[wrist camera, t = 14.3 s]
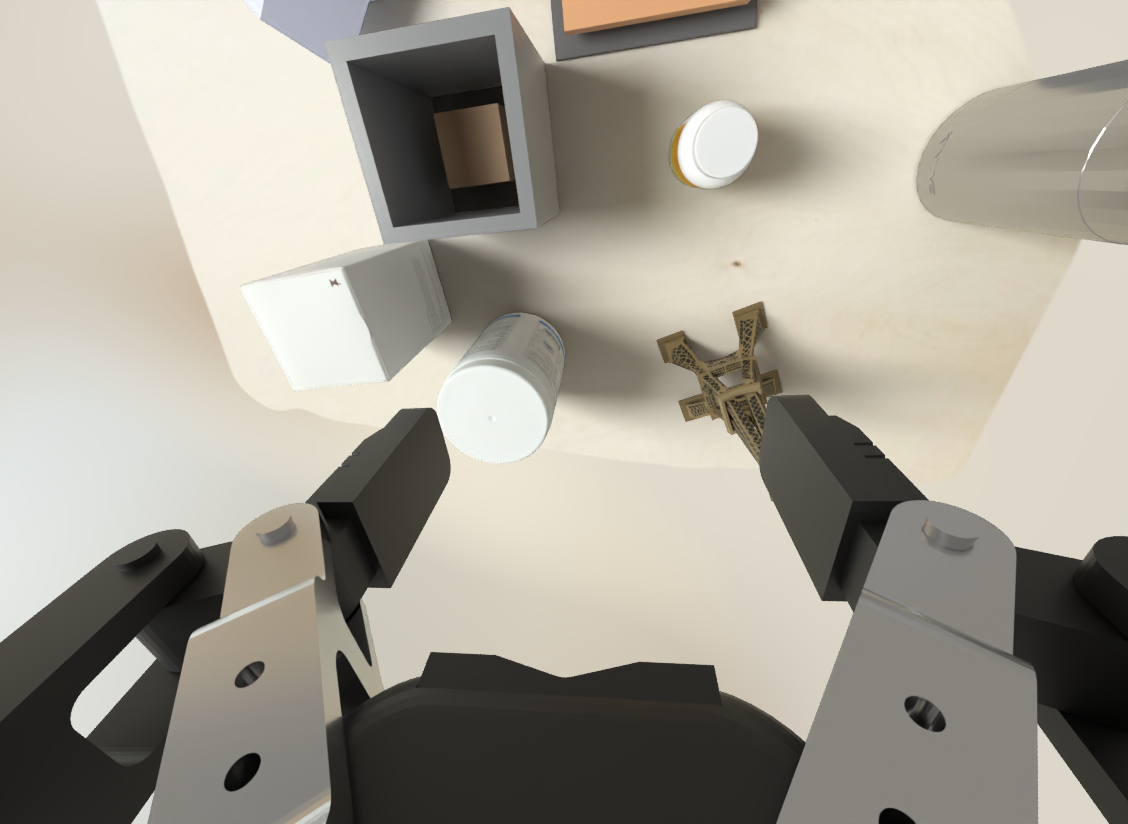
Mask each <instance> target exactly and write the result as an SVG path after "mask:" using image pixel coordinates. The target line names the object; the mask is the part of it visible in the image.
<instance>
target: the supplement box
mask: <svg viewBox="0 0 1128 824" xmlns="http://www.w3.org/2000/svg"><path fill="white" fill-rule="evenodd" d="M239 288H240V289H241V291H242V293H243V295H244V297H245V298H246V300H247V302H248V304H249V306H250V308H251V310H252V312H253V313H254V315H255V317H256V319H257V321H258V323H259V325H260V327H261V328H262V330H263V332H264V334H265V336H266V338H267V340H268V341H269V343H270V345H271V347H272V349H273V351H274V353H275V355H276V357H277V359H278V360H279V362H280V364H281V366H282V368H283V370H284V372H285V374H286V376H287V378H288V379H289V381H290V383H291V385H292V387H293V389H294V391H301V390H311V389H318V388H327V387H336V386H345V385H355V384H366V383H377V382H388V381H390V380H391V379H392V378H393V377H394V376H395V375H396V374H397V373H398V372H399V371H400V370H401V369H402V368H403V367H404V366H405V365H406V364H408V363H409V362H410V361H411V360H412V359H413V358H414V357H415V356H416V355H417V354H418V353H419V352H420V351H421V350H422V349H423V348H425V347H426V346H427V345H428V344H429V343H430V342H431V341H432V340H433V339H434V338H435V337H436V336H437V335H439V334H440V333H441V332H442V331H443V330H444V329H445V328H446V327H447V326H448V325H449V324H451V323H452V319H451V316H450V312H449V309H448V306H447V302H446V299H445V296H444V292H443V289H442V286H441V282H440V279H439V276H438V272H437V269H436V266H435V262H434V259H433V256H432V252H431V249H430V246H429V243H428V240H422V241H413V242H403V243H394V244H385V245H378V246H372V247H367V248H362V249H358V250H354V251H350V252H347V253H344V254H340V255H337V256H334V257H331V258H327V259H324V260H321V261H317V262H314V263H311V264H308V265H305V266H301V267H298V268H295V269H292V270H288V271H285V272H282V273H279V274H276V275H272V276H269V277H266V278H263V279H259V280H256V281H253V282H250V283H246V284H243V285H240V286H239Z"/></svg>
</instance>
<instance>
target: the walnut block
mask: <svg viewBox="0 0 1128 824" xmlns="http://www.w3.org/2000/svg"><path fill="white" fill-rule="evenodd" d="M433 116H434V120H435V125H436V129H437V134H438V138H439V143H440V147H441V152H442V157H443V161H444V166H445V170H446V175H447V179H448V184H449V189H455V188H466V187H475V186H483V185H490V184H498V183H505V182H513V181H516V180H515V173H514V166H513V159H512V152H511V145H510V138H509V131H508V124H507V117H506V110H505V107H503V106H502V105H500V104H498V103H495V104H489V105H483V106H477V107H471V108H465V109H458V110H452V111H446V112H440V113H434V114H433Z"/></svg>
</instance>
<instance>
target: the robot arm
mask: <svg viewBox="0 0 1128 824" xmlns="http://www.w3.org/2000/svg"><path fill="white" fill-rule="evenodd" d="M917 192H918V195H919V198H920V201H921V202H922V204H923V205H924V207H925V208H926V210H928V211H929V212H930V213H932V214H933V215H934V216H936V217H939V218H941V219H944V220H950V221H957V222H964V223H971V224H978V225H984V226H991V227H998V228H1006V229H1013V230H1020V231H1028V232H1035V233H1042V234H1050V235H1057V236H1064V237H1072V238H1079V239H1086V240H1094V241H1101V242H1108V243H1116V244H1125V245H1128V60H1124V61H1120V62H1115V63H1111V64H1106V65H1102V66H1097V67H1093V68H1088V69H1085V70H1079V71H1075V72H1071V73H1066V74H1062V75H1057V76H1053V77H1048V78H1043V79H1038V80H1034V81H1029V82H1025V83H1020V84H1016V85H1012V86H1007V87H1003V88H998V89H995V90H992V91H989V92H986V93H983V94H981V95H980V96H978V97H976V98H974V99H972V100H970V101H968V102H967V103H966V104H964V105H963V106H962V107H960V108H959V109H958V110H956V111H955V112H954V113H953V114H952V115H951V116H950V117H949V118H948V119H947V120H946V121H945V122H944V123H942V125H941V126H940V127H939V128H938V130H937V131H936V132H935V134H934V135H933V136H932V138H931V139H930V141H929V143H928V145H927V147H926V148H925V150H924V152H923V155H922V158H921V161H920V163H919V167H918V173H917ZM759 466H760V473H761V476H762V479H763V481H764V483H765V486H766V488H767V490H768V492H769V494H770V496H771V498H772V500H773V502H774V504H775V506H776V508H777V510H778V512H779V514H780V516H781V518H782V520H783V522H784V524H785V526H786V528H787V530H788V533H789V535H790V536H791V539H792V541H793V543H794V545H795V547H796V549H797V551H798V553H799V555H800V557H801V559H802V561H803V563H804V565H805V567H806V569H807V571H808V573H809V575H810V577H811V579H812V581H813V583H814V586H815V588H816V590H817V592H818V594H819V596H820V598H821V600H822V601H848V603H849V605H850V607H851V609H852V610H853V612H854V613H853V616H852V619H851V621H850V624H849V627H848V629H847V632H846V635H845V638H844V640H843V643H842V646H841V648H840V651H839V654H838V656H837V659H836V662H835V664H834V667H833V670H832V673H831V675H830V678H829V681H828V684H827V686H826V689H825V692H824V694H823V697H822V700H821V703H820V705H819V708H818V711H817V713H816V716H815V719H814V721H813V724H812V727H811V729H810V732H809V735H808V737H807V740H806V742H804V741H803V740H802V739H801V738H800V737H799V736H797V735H796V734H795V733H794V732H793V731H792V730H790V729H789V728H788V727H786V726H785V725H783V724H782V723H781V722H779V721H778V720H776V719H775V718H774V717H772V716H771V715H769V714H767V713H766V712H764V711H762V710H761V709H759V708H757V707H755V706H753V705H752V704H750V703H748V702H746V701H743V700H741V699H739V698H737V697H735V696H732V695H730V694H727V693H724V692H721V691H719V688H718V683H717V678H716V673H715V668H714V665H695V664H674V663H652V662H637V663H632V664H628V665H623V666H619V667H614V668H610V669H605V670H601V671H596V672H592V673H587V674H583V675H578V676H574V677H567V678H563V677H558V676H554V675H552V674H548V673H546V672H543V671H540V670H537V669H534V668H531V667H528V666H525V665H523V664H520V663H517V662H514V661H511V660H508V659H505V658H502V657H499V656H496V655H482V654H461V653H460V654H459V653H438V652H431V653H430V655H429V658H428V660H427V663H426V666H425V668H424V671H423V673H422V676H421V677H416V678H413V679H410V680H408V681H405V682H402V683H399V684H397V685H395V686H393V687H391V688H388V689H387V690H384V687H383V684H382V681H381V677H380V672H379V667H378V663H377V658H376V653H375V648H374V644H373V639H372V634H371V629H370V624H369V620H368V615H367V610H366V606H365V604H364V602H363V600H362V596H363V595H364V593H365V591H366V590H367V588H368V587H369V588H370V587H371V588H391V587H392V585H393V583H394V581H395V579H396V577H397V576H398V574H399V572H400V570H401V568H402V566H403V564H404V563H405V561H406V559H407V557H408V555H409V553H410V551H411V550H412V548H413V546H414V544H415V542H416V540H417V539H418V537H419V535H420V533H421V531H422V529H423V527H424V526H425V524H426V522H427V520H428V518H429V516H430V514H431V513H432V511H433V509H434V507H435V505H436V503H437V501H438V500H439V498H440V496H441V494H442V492H443V490H444V488H445V487H446V485H447V483H448V480H449V476H450V459H449V454H448V451H447V447H446V444H445V440H444V437H443V433H442V429H441V426H440V422H439V419H438V416H437V413H436V412H435V410H434V409H432V408H414V409H401V410H400V411H399V412H398V413H397V414H396V415H395V416H394V417H393V418H392V419H391V421H390V422H389V423H388V424H387V425H386V426H385V427H384V428H383V429H381V430H379V431H378V432H376V433H374V434H373V435H371V436H370V437H368V438H367V439H365V440H364V441H363V442H362V443H361V444H360V445H359V446H358V447H357V448H356V449H355V451H354V452H352V456H349V457H348V458H347V459H346V460H345V461H344V462H343V463H342V467H338V468H337V469H336V470H335V471H334V473H333V474H332V475H331V476H330V477H329V478H328V479H327V480H326V481H325V482H324V483H323V484H322V485H321V486H320V487H319V488H318V489H317V491H316V492H315V493H314V494H313V495H312V496H311V497H310V498H309V499H308V500H307V501H306V502H305V503H295V504H289V505H285V506H282V507H279V508H276V509H273V510H271V511H269V512H267V513H265V514H263V515H261V516H259V517H258V518H256V519H255V520H253V521H252V522H250V523H249V524H248V525H246V526H245V527H244V528H243V529H242V530H241V531H240V532H239V533H238V534H237V536H236V537H235V539H234V540H233V541H232V542H227V543H223V544H219V545H215V546H210V547H206V548H201V549H199V548H198V546H197V545H196V543H195V542H194V541H193V539H192V538H191V536H190V535H189V534H188V533H187V532H186V531H184V530H179V529H173V530H166V531H161V532H158V533H154V534H152V535H149V536H146V537H144V538H141V539H139V540H136V541H134V542H132V543H130V544H128V545H127V546H125V547H123V548H121V549H120V550H118V551H117V552H115V553H113V554H112V555H110V556H109V557H108V558H106V559H105V560H104V561H103V562H101V563H100V564H99V565H97V566H96V567H95V568H94V569H92V570H91V571H90V572H89V573H87V574H86V575H85V576H84V577H82V578H81V579H80V580H79V581H77V582H76V583H75V584H73V585H72V586H71V587H70V588H68V589H67V590H66V591H65V592H63V593H62V594H61V595H60V596H58V597H57V598H56V599H55V600H53V601H52V602H51V603H50V604H48V605H47V606H46V607H45V608H43V609H42V610H41V611H40V612H38V613H37V614H36V615H34V616H33V617H32V618H31V619H29V620H28V621H27V622H26V623H24V624H23V625H22V626H21V627H19V628H18V629H17V630H16V631H14V632H13V633H12V634H11V635H9V636H8V637H7V638H6V639H4V640H3V641H2V642H1V643H0V824H131V823H132V822H133V820H134V819H135V817H136V816H137V815H138V813H139V812H140V810H141V809H142V807H143V806H144V805H145V803H146V802H147V800H148V799H149V798H150V796H151V794H152V793H153V792H154V790H155V792H154V797H153V801H152V806H151V810H150V815H149V819H148V824H1038V764H1037V763H1038V760H1037V759H1038V756H1037V723H1038V725H1039V726H1040V728H1041V729H1042V730H1043V732H1044V733H1045V734H1046V736H1047V737H1048V739H1049V740H1050V742H1051V743H1052V744H1053V746H1054V747H1055V749H1056V750H1057V751H1058V753H1059V754H1060V756H1061V757H1062V758H1063V760H1064V761H1065V762H1066V764H1067V765H1068V767H1069V768H1070V770H1071V771H1072V772H1073V774H1074V775H1075V777H1076V778H1077V779H1078V781H1079V782H1080V784H1081V785H1082V786H1083V788H1084V789H1085V790H1086V792H1087V793H1088V795H1089V796H1090V797H1091V799H1092V800H1093V802H1094V803H1095V804H1096V806H1097V807H1098V809H1099V810H1100V811H1101V813H1102V814H1103V816H1104V817H1105V818H1106V819H1107V821H1108V823H1109V824H1128V537H1126V536H1113V537H1106V538H1103V539H1100V540H1099V541H1097V542H1096V543H1095V544H1094V546H1093V547H1092V548H1091V550H1090V551H1089V553H1088V554H1087V556H1086V557H1085V558H1084V559H1083V560H1078V559H1074V558H1069V557H1063V556H1059V555H1054V554H1049V553H1043V552H1039V551H1034V550H1029V549H1023V548H1019V547H1014V545H1013V543H1012V542H1011V541H1010V539H1009V538H1008V537H1007V536H1006V535H1005V534H1004V533H1003V532H1002V531H1001V530H1000V529H998V528H997V527H996V526H995V525H993V524H992V523H990V522H988V521H987V520H985V519H983V518H981V517H980V516H978V515H976V514H974V513H971V512H969V511H967V510H964V509H961V508H958V507H956V506H952V505H949V504H945V503H940V502H935V501H929V500H928V499H927V498H926V497H925V496H924V495H923V494H922V493H921V492H920V491H919V490H918V489H917V488H916V487H915V486H914V485H913V483H912V482H911V481H910V480H909V479H908V478H907V477H906V476H905V475H904V474H903V473H902V472H901V471H900V470H899V469H898V468H897V467H896V466H895V465H894V464H893V463H892V462H891V461H890V460H889V459H888V458H887V459H885V455H884V454H883V453H882V452H881V451H880V450H879V448H878V447H877V446H873V442H872V441H871V440H870V439H869V438H868V437H867V436H866V435H865V434H864V433H863V432H862V431H861V430H860V429H859V428H858V427H856V426H854V425H852V424H851V423H849V422H847V421H845V420H843V419H841V418H839V417H838V416H828V415H827V414H826V412H825V411H824V410H823V409H822V408H821V407H820V406H819V405H818V404H817V402H816V401H815V400H814V399H813V398H812V397H811V396H810V395H785V396H771V397H770V399H769V401H768V403H767V408H766V414H765V421H764V427H763V433H762V440H761V446H760V453H759ZM134 637H136V638H137V639H139V641H140V642H141V643H142V644H143V645H144V646H145V647H146V648H147V649H148V650H149V651H150V652H151V653H152V654H153V655H154V656H155V657H156V658H157V659H156V660H155V662H153V664H152V665H151V666H150V667H149V668H148V669H147V670H146V671H145V673H144V674H143V675H142V676H141V677H140V678H139V679H138V681H137V682H136V683H135V684H134V685H133V686H132V687H131V689H129V691H128V692H127V693H126V694H125V695H124V696H123V697H122V698H121V700H120V701H119V702H118V703H117V704H116V705H115V706H114V707H113V709H112V710H111V711H110V712H109V713H108V714H107V715H106V716H105V718H104V719H103V720H102V721H101V722H100V723H99V724H98V725H97V727H96V728H95V729H94V730H93V731H92V732H91V734H89V736H88V737H87V738H84V737H83V736H81V734H79V733H78V732H77V731H75V730H74V729H73V727H72V725H71V721H70V717H71V711H72V708H73V705H74V703H75V701H76V700H77V698H78V696H79V695H80V694H81V692H82V691H83V690H84V689H85V688H86V687H87V686H88V685H89V684H90V682H91V681H92V680H93V679H94V678H95V677H96V676H97V675H98V674H99V673H100V672H101V671H102V670H103V669H104V668H105V667H106V666H107V665H108V664H109V663H110V662H111V661H112V660H113V659H114V658H115V657H116V656H117V655H118V654H119V653H120V652H121V651H122V650H123V649H124V648H125V647H126V646H127V645H128V644H129V642H131V641H132V640H133V638H134Z"/></svg>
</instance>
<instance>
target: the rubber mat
mask: <svg viewBox="0 0 1128 824" xmlns="http://www.w3.org/2000/svg"><path fill="white" fill-rule="evenodd" d="M756 8H757V0H750V1H749V2H748V4H745V5H739V6H733V7H728V8H722V9H716V10H711V11H705V12H700V13H694V14H688V15H683V16H677V17H671V18H666V19H660V20H654V21H649V22H643V23H638V24H632V25H626V26H621V27H615V28H609V29H604V30H598V31H593V32H587V33H581V34H576V35H570V36H566V34H565V31H564V19H563V7H562V0H551V9H552V20H553V31H554V42H555V53H556V61H560V60H566V59H572V58H578V57H584V56H590V55H596V54H602V53H608V52H614V51H620V50H626V49H632V48H638V47H644V46H650V45H656V44H662V43H668V42H674V41H680V40H686V39H692V38H698V37H704V36H710V35H716V34H722V33H728V32H734V31H740V30H746V29H752V28H754V27H755V20H756Z"/></svg>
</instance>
